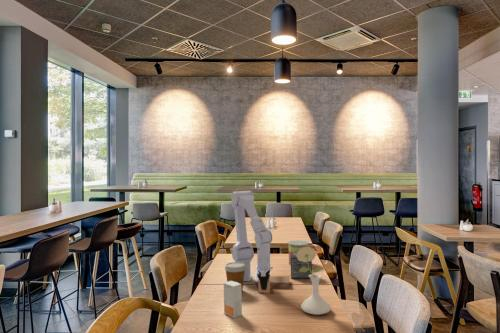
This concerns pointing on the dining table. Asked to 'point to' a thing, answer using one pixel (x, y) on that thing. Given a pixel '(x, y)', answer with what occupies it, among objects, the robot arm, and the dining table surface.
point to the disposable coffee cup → (235, 272)
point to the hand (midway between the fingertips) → (264, 287)
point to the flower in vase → (315, 301)
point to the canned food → (296, 248)
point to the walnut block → (279, 282)
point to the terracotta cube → (266, 289)
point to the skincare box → (232, 299)
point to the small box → (298, 265)
